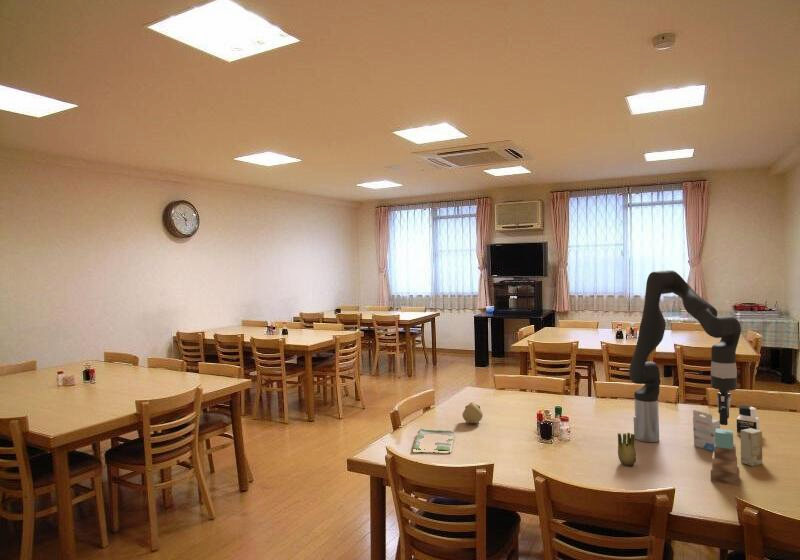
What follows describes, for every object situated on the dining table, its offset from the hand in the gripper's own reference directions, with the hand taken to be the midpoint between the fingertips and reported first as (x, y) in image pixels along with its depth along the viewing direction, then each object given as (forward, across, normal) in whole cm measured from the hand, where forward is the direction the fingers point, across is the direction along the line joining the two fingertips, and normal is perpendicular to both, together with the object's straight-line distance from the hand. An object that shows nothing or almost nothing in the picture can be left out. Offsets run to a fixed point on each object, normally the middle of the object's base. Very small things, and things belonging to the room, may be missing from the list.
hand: (724, 421), depth 173 cm
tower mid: (+17, 0, 0) cm, 17 cm away
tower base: (+21, 0, 0) cm, 21 cm away
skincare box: (+21, -21, +7) cm, 30 cm away
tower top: (+12, 0, 0) cm, 13 cm away
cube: (+9, 0, 0) cm, 9 cm away
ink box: (+21, -31, -8) cm, 38 cm away
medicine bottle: (+21, -57, +5) cm, 61 cm away
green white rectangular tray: (+22, +21, -106) cm, 110 cm away
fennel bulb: (+21, +3, -31) cm, 37 cm away
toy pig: (+21, -13, -105) cm, 108 cm away
